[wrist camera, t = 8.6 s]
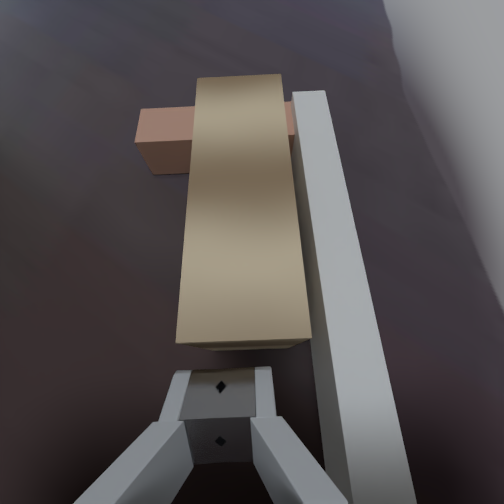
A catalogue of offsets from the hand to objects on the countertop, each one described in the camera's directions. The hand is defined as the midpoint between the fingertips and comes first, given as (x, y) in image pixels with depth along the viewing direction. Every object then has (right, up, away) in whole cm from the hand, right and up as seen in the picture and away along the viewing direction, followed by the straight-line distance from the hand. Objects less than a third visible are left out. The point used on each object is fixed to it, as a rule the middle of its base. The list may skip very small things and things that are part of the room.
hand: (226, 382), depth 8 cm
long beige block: (+1, +4, +8) cm, 9 cm away
